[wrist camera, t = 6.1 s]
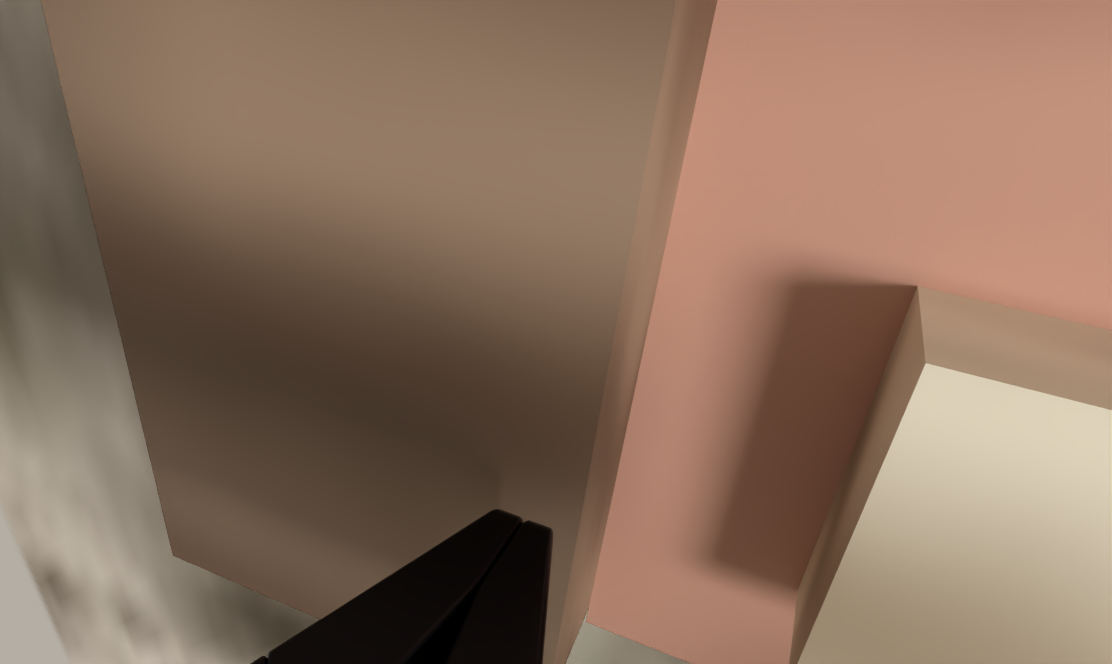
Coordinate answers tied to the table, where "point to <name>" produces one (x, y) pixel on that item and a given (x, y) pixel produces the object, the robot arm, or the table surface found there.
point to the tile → (972, 499)
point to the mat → (837, 275)
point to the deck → (381, 265)
